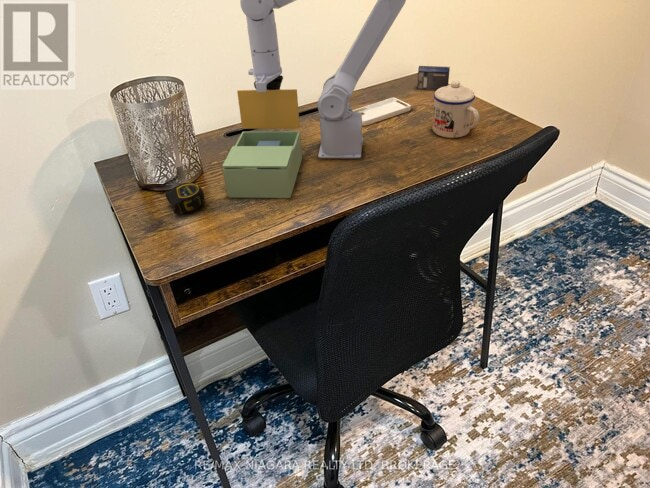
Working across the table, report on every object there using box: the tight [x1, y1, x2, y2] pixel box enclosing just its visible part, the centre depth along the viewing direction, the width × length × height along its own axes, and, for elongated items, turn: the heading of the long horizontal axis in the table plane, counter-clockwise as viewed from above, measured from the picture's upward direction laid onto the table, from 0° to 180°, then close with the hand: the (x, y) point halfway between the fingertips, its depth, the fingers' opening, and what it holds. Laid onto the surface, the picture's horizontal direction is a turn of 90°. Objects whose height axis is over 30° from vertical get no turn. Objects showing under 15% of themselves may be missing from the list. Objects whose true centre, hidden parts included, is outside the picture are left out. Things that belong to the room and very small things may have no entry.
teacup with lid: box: [432, 80, 480, 139], centre depth 118 cm, size 12×9×12 cm
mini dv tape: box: [416, 65, 451, 91], centre depth 141 cm, size 8×2×6 cm, turn 75°
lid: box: [236, 88, 301, 130], centre depth 110 cm, size 8×13×1 cm
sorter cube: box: [257, 141, 281, 169], centre depth 111 cm, size 5×5×5 cm
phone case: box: [352, 97, 412, 127], centre depth 131 cm, size 7×1×15 cm
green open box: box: [221, 130, 303, 199], centre depth 108 cm, size 17×13×7 cm
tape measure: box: [164, 182, 205, 216], centre depth 101 cm, size 7×7×4 cm
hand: (272, 111), depth 114 cm, fingers closed
